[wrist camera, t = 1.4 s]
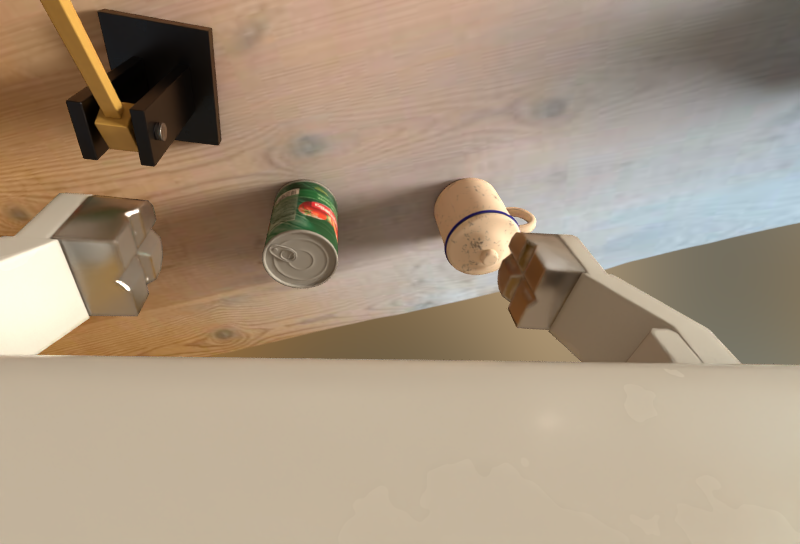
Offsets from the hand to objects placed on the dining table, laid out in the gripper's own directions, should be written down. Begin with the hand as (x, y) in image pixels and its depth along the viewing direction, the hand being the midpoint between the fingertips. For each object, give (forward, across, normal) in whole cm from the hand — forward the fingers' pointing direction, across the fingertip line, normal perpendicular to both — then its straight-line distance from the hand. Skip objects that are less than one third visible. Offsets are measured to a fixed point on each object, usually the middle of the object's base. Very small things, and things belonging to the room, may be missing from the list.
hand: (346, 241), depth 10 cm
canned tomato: (+39, +2, +22) cm, 45 cm away
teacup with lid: (+39, -20, +19) cm, 48 cm away
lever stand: (+38, +16, +9) cm, 42 cm away
